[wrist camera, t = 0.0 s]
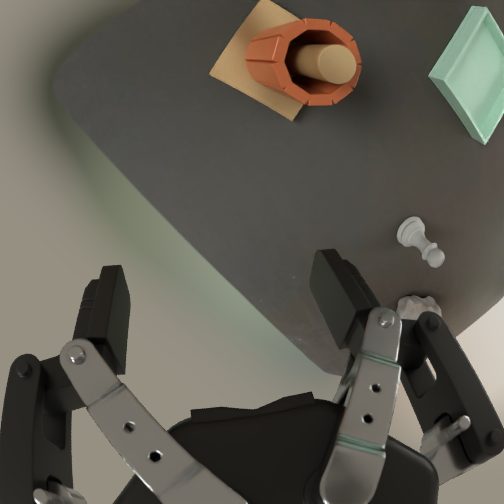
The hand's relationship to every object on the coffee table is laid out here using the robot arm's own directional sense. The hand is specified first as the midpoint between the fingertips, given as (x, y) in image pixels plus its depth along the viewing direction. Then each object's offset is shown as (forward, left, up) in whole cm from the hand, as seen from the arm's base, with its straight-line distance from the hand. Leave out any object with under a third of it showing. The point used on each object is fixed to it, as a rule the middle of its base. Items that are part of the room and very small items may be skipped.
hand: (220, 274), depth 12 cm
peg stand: (-11, +2, -19) cm, 22 cm away
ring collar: (-11, +2, -18) cm, 21 cm away
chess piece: (-4, +31, -19) cm, 37 cm away
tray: (-29, +24, -19) cm, 42 cm away
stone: (+7, +47, -19) cm, 51 cm away
